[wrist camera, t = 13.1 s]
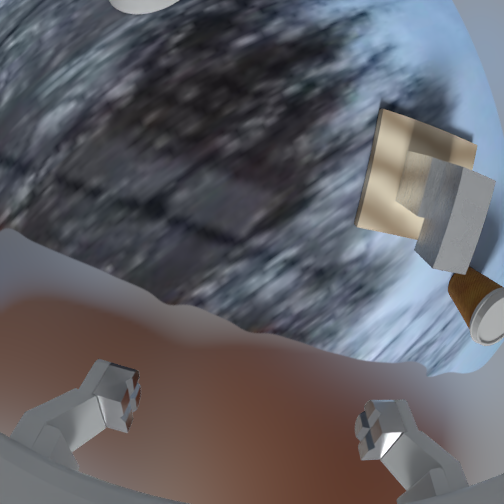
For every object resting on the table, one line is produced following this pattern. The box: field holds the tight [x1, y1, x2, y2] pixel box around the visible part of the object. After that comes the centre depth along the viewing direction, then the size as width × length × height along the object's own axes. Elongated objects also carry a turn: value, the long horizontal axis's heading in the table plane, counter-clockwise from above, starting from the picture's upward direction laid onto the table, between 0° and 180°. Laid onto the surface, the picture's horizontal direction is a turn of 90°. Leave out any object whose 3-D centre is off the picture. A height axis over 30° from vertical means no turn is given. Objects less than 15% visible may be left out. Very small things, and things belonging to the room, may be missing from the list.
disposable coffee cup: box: [448, 267, 504, 346], centre depth 39 cm, size 10×10×12 cm
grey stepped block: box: [395, 151, 496, 275], centre depth 32 cm, size 11×7×12 cm, turn 171°
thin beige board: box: [354, 109, 477, 240], centre depth 36 cm, size 16×16×6 cm
